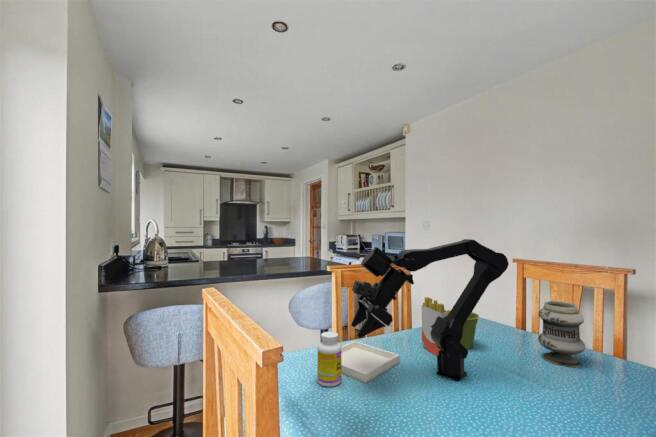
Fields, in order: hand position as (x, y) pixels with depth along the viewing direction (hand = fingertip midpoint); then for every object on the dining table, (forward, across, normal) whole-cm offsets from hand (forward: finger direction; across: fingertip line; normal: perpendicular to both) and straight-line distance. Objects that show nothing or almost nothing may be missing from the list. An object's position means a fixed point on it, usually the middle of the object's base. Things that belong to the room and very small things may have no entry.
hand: (355, 331), depth 88 cm
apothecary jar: (-32, -6, +62) cm, 70 cm away
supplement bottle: (+15, +1, +2) cm, 15 cm away
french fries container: (-9, -16, +33) cm, 37 cm away
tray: (+8, -10, +11) cm, 17 cm away
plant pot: (-16, -21, +42) cm, 49 cm away
